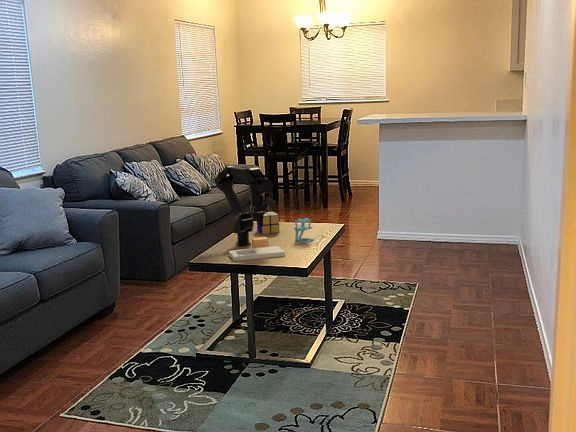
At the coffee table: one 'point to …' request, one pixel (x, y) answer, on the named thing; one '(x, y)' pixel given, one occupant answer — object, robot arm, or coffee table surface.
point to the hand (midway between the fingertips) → (260, 225)
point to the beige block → (260, 242)
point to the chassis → (256, 253)
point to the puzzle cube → (269, 223)
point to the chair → (302, 230)
